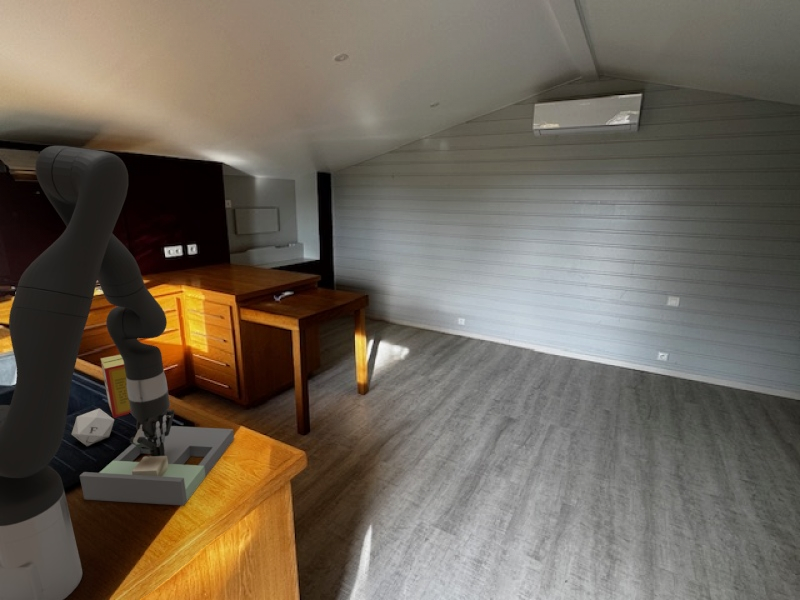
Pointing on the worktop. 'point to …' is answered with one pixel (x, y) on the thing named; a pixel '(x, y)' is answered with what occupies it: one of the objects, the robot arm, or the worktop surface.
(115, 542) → the worktop surface
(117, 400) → the baking soda box
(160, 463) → the birch block
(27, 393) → the robot arm
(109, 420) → the die
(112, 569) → the worktop surface
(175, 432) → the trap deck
